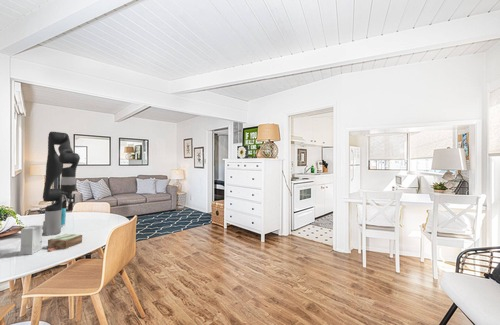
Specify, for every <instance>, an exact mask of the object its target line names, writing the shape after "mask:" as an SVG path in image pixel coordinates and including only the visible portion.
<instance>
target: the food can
mask: <svg viewBox="0 0 500 325" xmlns="http://www.w3.org/2000/svg"><path fill="white" fill-rule="evenodd" d="M52 204H53V203H49V204H47V205H46V207H47V206H50V205H52ZM66 215H67V207H66V208H62V214H61V228H64V227H65V226H66ZM63 226H64V227H63Z"/></svg>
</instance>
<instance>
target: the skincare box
mask: <svg viewBox="0 0 500 325" xmlns="http://www.w3.org/2000/svg"><path fill="white" fill-rule="evenodd" d="M20 232H21V233H20V252H19V253H20V255H21V256H22V255H23V256H24V255H33V254H35V253H36V252H39V251H41V250H42V248H43V243H42V242H43V224H42V225H41V224H39V225H37V224H36V225H30V226H26V227H24V228H23V227H22V228H21V231H20Z"/></svg>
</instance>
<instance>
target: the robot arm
mask: <svg viewBox="0 0 500 325" xmlns="http://www.w3.org/2000/svg"><path fill="white" fill-rule="evenodd" d="M70 140H71V139H70V136H69V135H68V133H66V132H60V131H49V133H48V136H47V158H46V165H45V180H44V188H43V192H42V199H43V202H45V203H46V202H54V203H51V204H52V205H50V204H49V205H50V206H47V205H46V206H45V208H44V220H43V222H42V235H44V236H54V235H58V234H59V235H60V233H61V232H62V227H61V214H62V208H66V209H67V210H68V211H72V210H73V205H74V204H76V194H75V193H73V192H75V191H76V183H77V180H76V179H77V178H76V172H77V167H78V164H79V162H80V160H81V158H80V155H79V153H76V152H74V151H73V148H72V147H71V141H70ZM56 145H57V146H58V149H57V150H58V153H59V154H58V153H57V150H56V148H55V146H56ZM64 164H65V165H70V164H71V165H70V166H67V167H66V166H65V167H64ZM60 176H61V178H60V187H59V188H52V186H53V184H54V182H55V181H56V180H57V179H58V178H59V177H60Z"/></svg>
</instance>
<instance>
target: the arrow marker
mask: <svg viewBox="0 0 500 325" xmlns="http://www.w3.org/2000/svg"><path fill="white" fill-rule="evenodd" d="M57 248H58V247H53V248H48V249H47V251H48V252H53V251H55V249H56V250H58V249H57Z"/></svg>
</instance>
